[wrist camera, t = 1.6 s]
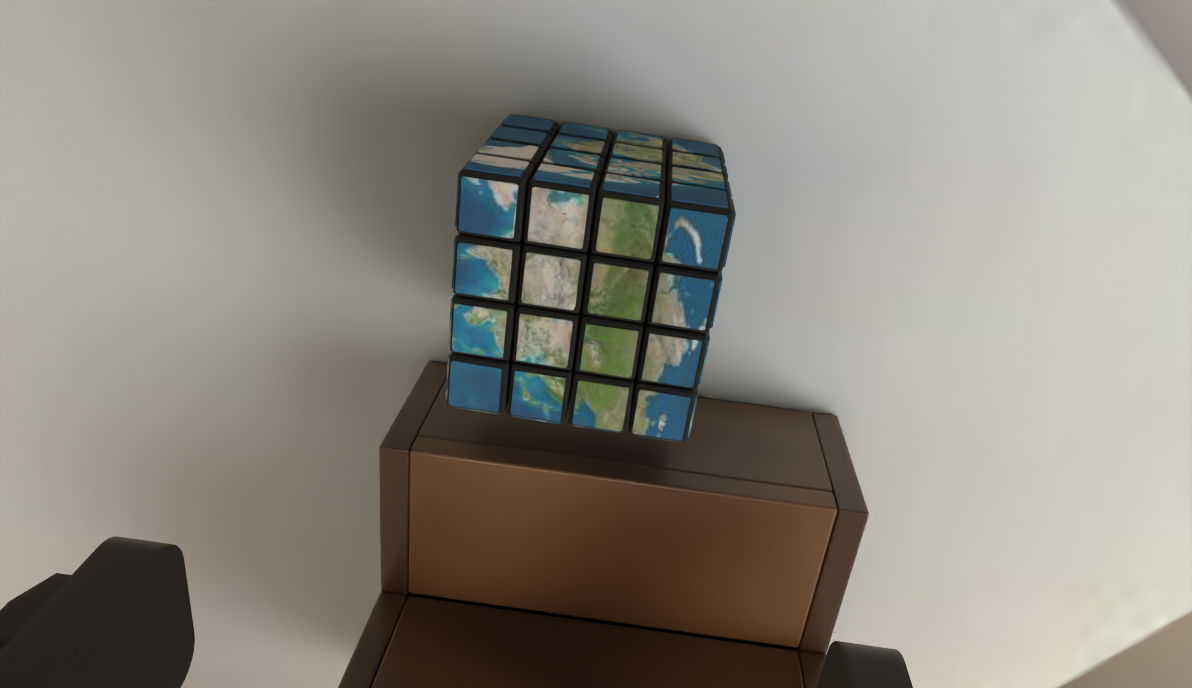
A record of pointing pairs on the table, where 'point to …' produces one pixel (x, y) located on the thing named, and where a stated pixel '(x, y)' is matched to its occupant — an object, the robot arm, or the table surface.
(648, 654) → the wooden step riser
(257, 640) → the table surface
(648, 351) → the puzzle
